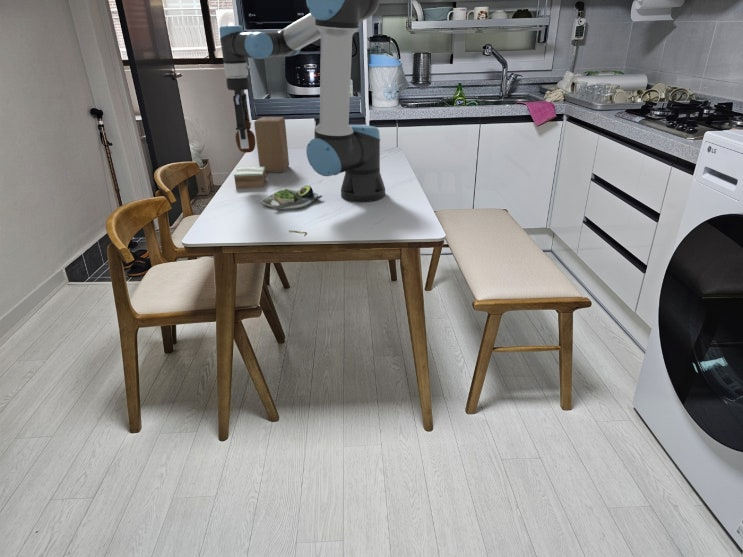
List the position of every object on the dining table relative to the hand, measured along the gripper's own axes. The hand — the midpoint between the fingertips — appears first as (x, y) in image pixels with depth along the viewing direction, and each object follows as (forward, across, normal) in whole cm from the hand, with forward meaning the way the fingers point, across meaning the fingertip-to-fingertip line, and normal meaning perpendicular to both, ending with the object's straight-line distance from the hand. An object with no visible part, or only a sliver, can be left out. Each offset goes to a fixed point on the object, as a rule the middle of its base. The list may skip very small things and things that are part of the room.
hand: (246, 146), depth 174 cm
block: (+14, +20, -7) cm, 25 cm away
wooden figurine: (+2, 0, 0) cm, 2 cm away
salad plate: (+14, -23, -16) cm, 32 cm away
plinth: (+14, 0, 0) cm, 14 cm away
